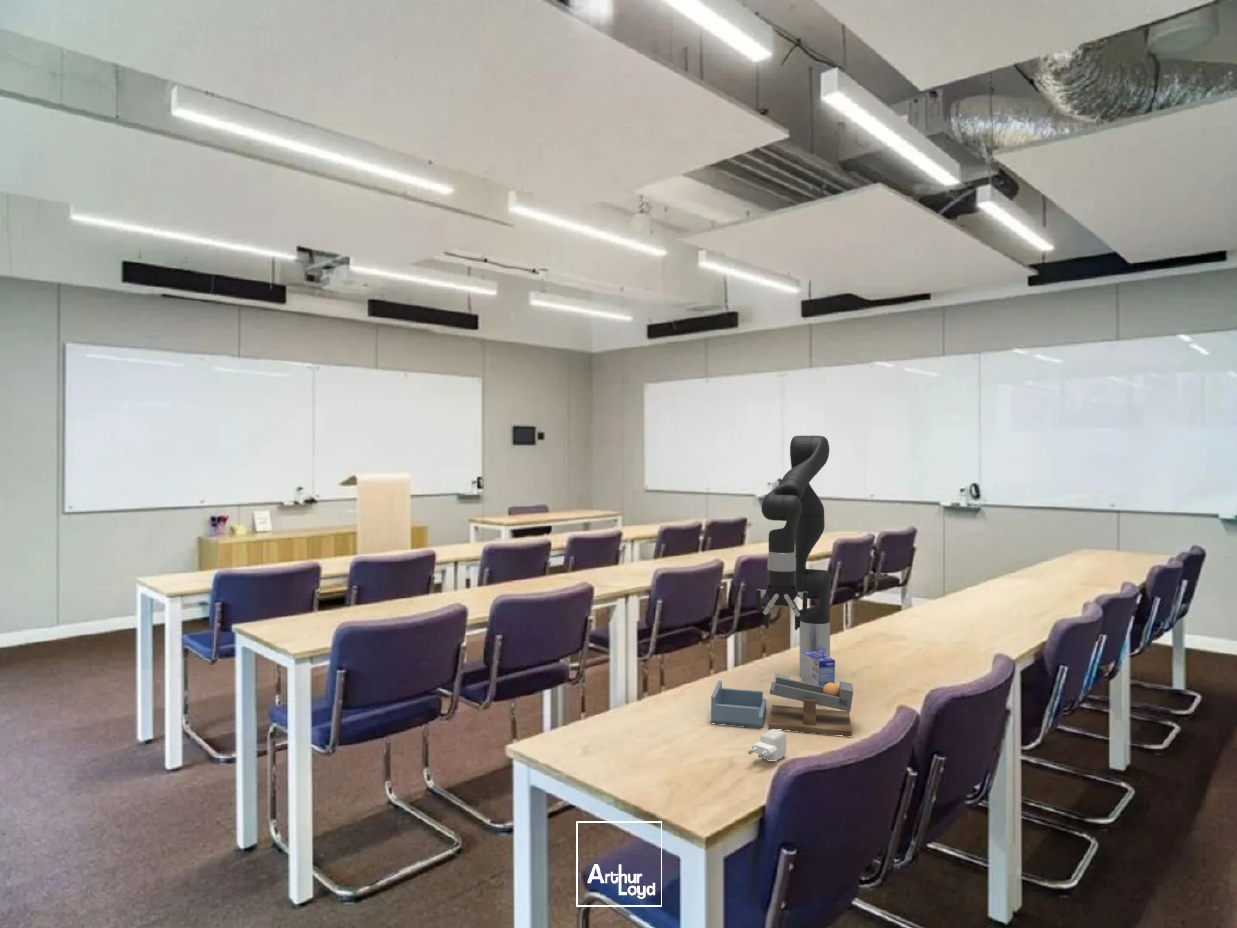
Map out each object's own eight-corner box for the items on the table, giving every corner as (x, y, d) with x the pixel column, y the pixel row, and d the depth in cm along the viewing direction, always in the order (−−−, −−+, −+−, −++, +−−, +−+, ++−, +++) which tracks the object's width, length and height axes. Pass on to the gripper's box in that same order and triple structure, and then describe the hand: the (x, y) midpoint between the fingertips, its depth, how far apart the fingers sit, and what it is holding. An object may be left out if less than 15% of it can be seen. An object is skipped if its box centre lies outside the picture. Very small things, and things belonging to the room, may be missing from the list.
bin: (718, 705, 199) (718, 680, 199) (766, 709, 196) (766, 684, 195) (711, 724, 186) (711, 697, 185) (762, 728, 182) (762, 701, 182)
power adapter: (763, 772, 157) (763, 746, 157) (744, 766, 161) (744, 740, 161) (789, 756, 166) (789, 731, 165) (770, 750, 169) (770, 726, 169)
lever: (772, 680, 199) (775, 658, 199) (847, 696, 194) (850, 674, 194) (768, 698, 185) (772, 674, 184) (849, 716, 179) (853, 692, 179)
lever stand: (772, 710, 195) (771, 682, 195) (849, 717, 190) (849, 688, 190) (768, 729, 182) (768, 699, 182) (851, 737, 176) (851, 706, 176)
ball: (821, 692, 187) (825, 678, 186) (836, 698, 186) (841, 683, 185) (821, 697, 183) (825, 683, 183) (837, 703, 182) (841, 688, 182)
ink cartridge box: (836, 703, 200) (836, 651, 200) (818, 705, 199) (818, 653, 199) (817, 691, 210) (817, 642, 210) (800, 693, 209) (800, 643, 208)
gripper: (809, 567, 198) (809, 626, 198) (756, 565, 201) (756, 623, 202) (808, 571, 190) (808, 633, 190) (753, 569, 194) (753, 630, 194)
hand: (781, 628), depth 196 cm, fingers open, 7 cm apart
